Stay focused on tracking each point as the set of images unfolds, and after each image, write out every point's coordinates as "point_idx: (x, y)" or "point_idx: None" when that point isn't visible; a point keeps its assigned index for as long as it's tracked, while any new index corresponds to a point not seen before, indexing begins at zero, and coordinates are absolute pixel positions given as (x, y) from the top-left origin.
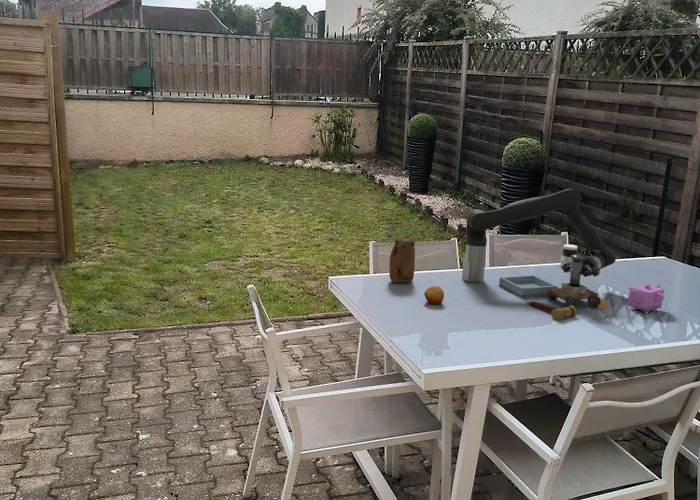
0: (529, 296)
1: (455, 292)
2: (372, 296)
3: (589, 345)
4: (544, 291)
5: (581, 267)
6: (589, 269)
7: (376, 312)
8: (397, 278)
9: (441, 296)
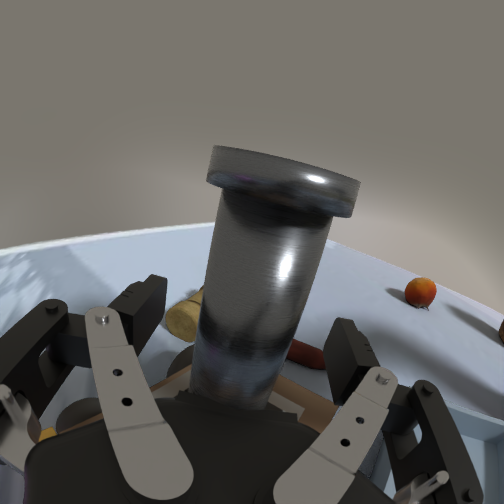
0: None
1: (460, 350)
2: (451, 297)
3: (141, 242)
4: (378, 478)
5: (206, 271)
6: (110, 330)
7: (401, 271)
8: (501, 324)
9: (408, 284)
